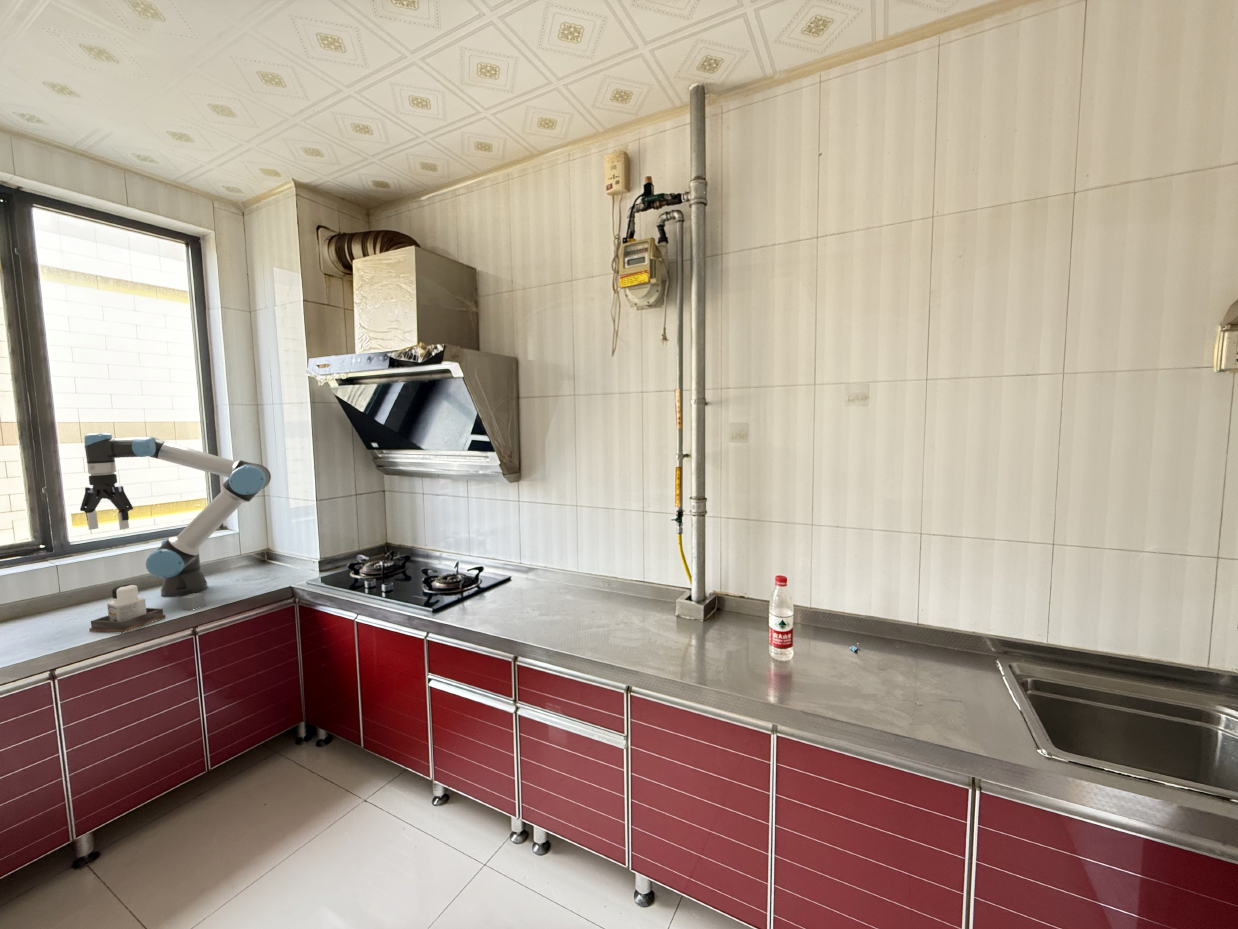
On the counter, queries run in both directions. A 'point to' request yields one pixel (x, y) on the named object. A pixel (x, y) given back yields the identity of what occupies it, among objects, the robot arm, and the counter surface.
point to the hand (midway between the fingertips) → (109, 529)
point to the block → (192, 601)
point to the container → (126, 603)
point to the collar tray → (126, 622)
